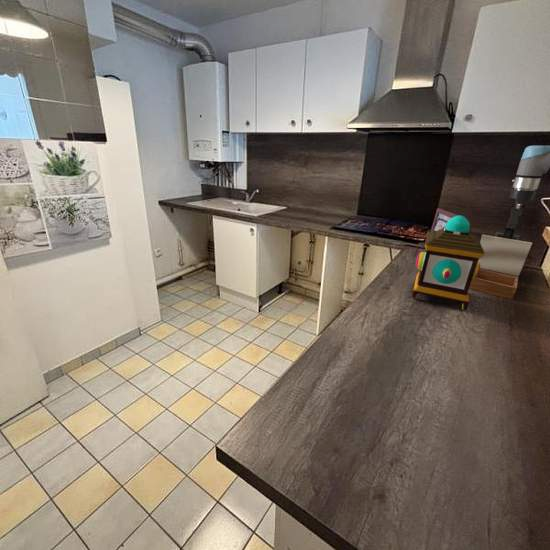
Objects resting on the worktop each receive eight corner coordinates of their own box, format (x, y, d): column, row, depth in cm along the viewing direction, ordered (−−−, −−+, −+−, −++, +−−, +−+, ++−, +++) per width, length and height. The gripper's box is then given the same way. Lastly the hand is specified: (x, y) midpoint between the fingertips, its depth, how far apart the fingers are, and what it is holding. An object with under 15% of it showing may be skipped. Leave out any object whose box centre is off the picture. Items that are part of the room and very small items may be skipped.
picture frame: (423, 257, 149) (435, 208, 139) (442, 258, 148) (456, 208, 138) (439, 269, 133) (453, 215, 123) (460, 270, 133) (477, 216, 123)
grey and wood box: (532, 243, 107) (534, 233, 113) (482, 235, 116) (486, 226, 122) (518, 276, 114) (521, 265, 121) (472, 266, 123) (477, 256, 130)
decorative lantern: (406, 299, 105) (426, 216, 93) (411, 280, 121) (428, 207, 109) (471, 314, 97) (501, 225, 85) (467, 291, 113) (492, 214, 101)
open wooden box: (512, 299, 107) (516, 288, 105) (463, 287, 116) (467, 276, 114) (513, 288, 117) (518, 277, 115) (469, 277, 126) (472, 267, 124)
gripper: (513, 186, 123) (497, 235, 131) (509, 191, 105) (491, 247, 113) (536, 187, 119) (518, 238, 127) (536, 193, 101) (515, 251, 109)
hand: (505, 242), depth 120 cm, fingers open, 13 cm apart
